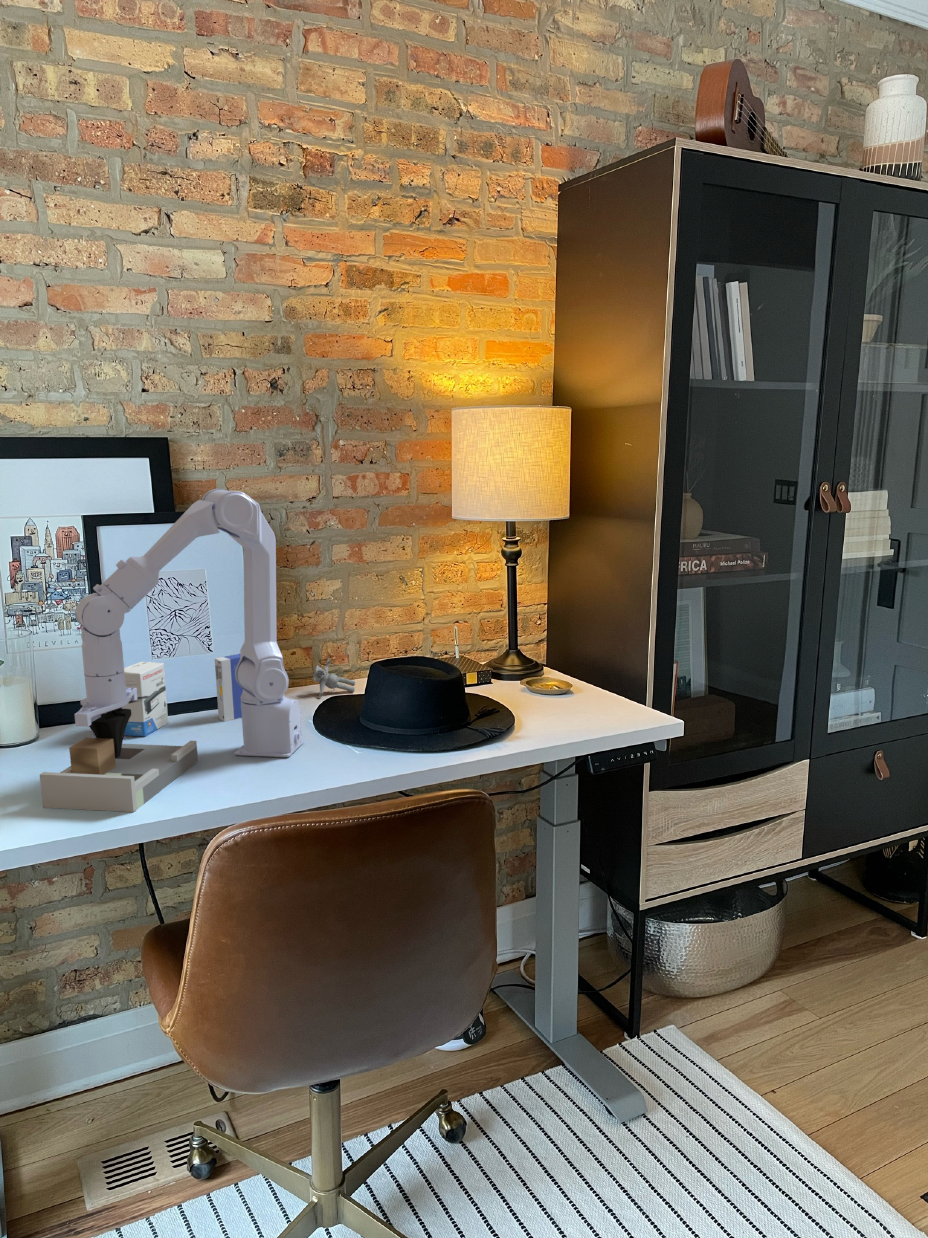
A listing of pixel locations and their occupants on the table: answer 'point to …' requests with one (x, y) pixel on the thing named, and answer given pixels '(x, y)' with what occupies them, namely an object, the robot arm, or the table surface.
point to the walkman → (228, 688)
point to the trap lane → (119, 779)
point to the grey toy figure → (331, 680)
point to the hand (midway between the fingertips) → (112, 757)
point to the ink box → (146, 698)
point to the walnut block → (92, 756)
